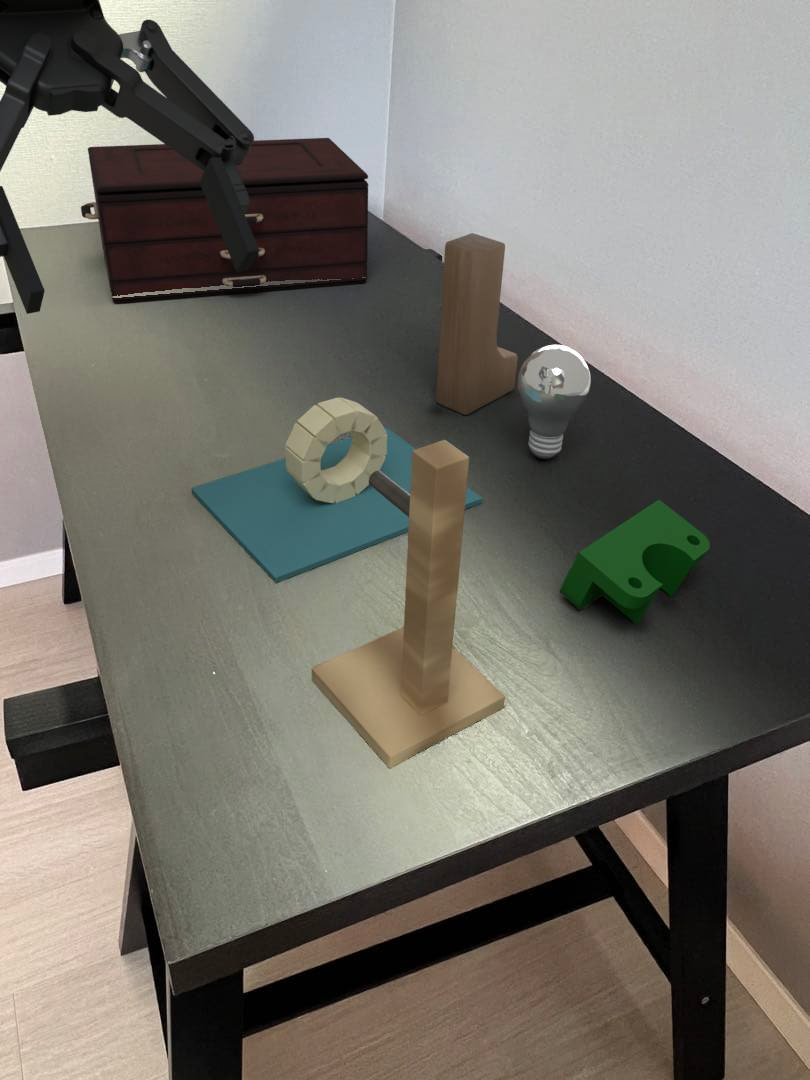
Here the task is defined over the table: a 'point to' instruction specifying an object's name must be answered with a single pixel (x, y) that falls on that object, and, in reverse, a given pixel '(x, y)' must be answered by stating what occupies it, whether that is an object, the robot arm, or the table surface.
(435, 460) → the hook stand
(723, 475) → the table surface
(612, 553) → the clamp
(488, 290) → the wooden block
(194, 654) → the table surface
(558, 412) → the light bulb
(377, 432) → the segmented ring
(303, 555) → the mat
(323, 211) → the storage box
